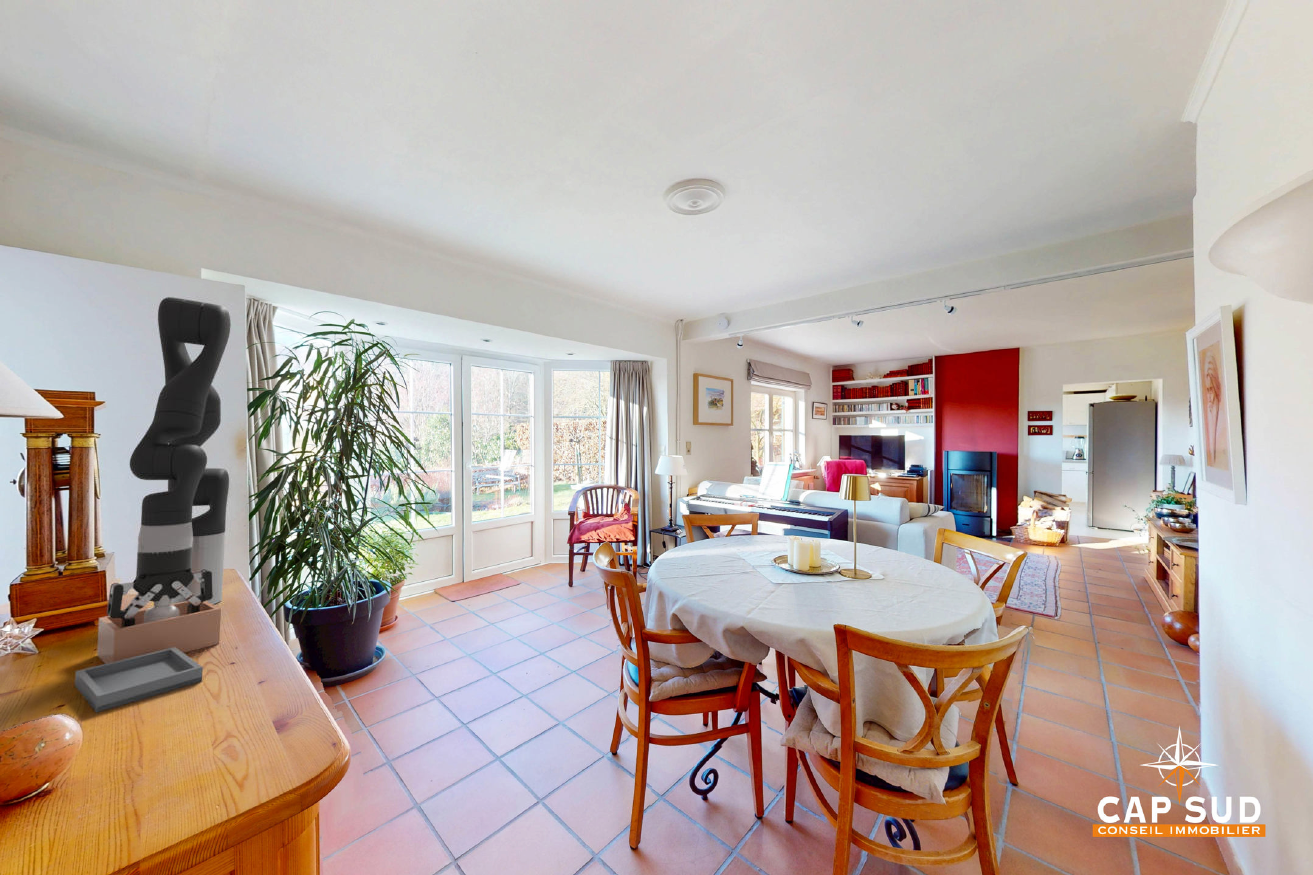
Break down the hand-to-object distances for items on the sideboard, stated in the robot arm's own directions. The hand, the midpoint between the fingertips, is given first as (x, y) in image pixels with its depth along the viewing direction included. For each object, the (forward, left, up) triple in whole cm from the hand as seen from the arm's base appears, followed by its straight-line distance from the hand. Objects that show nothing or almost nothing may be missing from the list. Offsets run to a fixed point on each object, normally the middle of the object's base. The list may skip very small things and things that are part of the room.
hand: (161, 630), depth 95 cm
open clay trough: (0, 0, -4) cm, 4 cm away
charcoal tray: (+15, -6, -4) cm, 17 cm away
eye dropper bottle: (0, 0, -4) cm, 4 cm away
